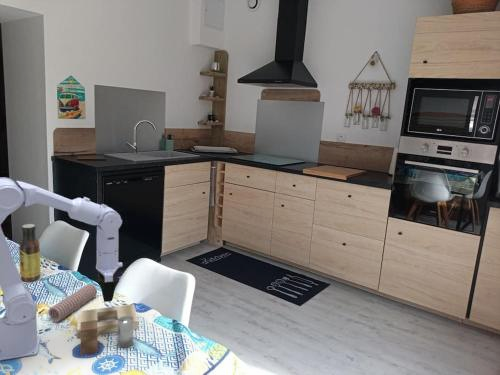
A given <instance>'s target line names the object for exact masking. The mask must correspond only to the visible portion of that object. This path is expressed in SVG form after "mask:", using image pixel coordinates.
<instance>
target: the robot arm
mask: <svg viewBox="0 0 500 375" xmlns="http://www.w3.org/2000/svg"><path fill="white" fill-rule="evenodd" d="M34 204H39V205H43V206H46V207H49V208H53V209H57V210H60V211H63V212H67V213H68V216H69V218H70V219H72V220H76V221H79V222H83V223H84V224H88V225H91V226H96V265H95V269H96V271H98V274H99V276H100V277H97V278H96V279H97V281H96V282H97V284H98V285H99V287H100V290H101V293H102V294H101V295H102V299H103V302H104V303H106V302H108V303H109V302H112V301H113V299H114V295H115V290H116V287H117V286H118V283H119V282H120V277H119V276H117V277H114V274H115V273H116V272H117V270H118V269H119V268H122V267H123V266H124V265H123V262H121V261H120V262H119V229H120V228H121V226H122V224H123V219H122V217H121V215H120V214H119V213H118V212H117V211H116V210H114V209H113V208H112V207H109V206H108V205H107V204H104V203H101V204H99V203H95V202H93V201H91V199H90V198H88V197H86V196H83V198H81V197H76V198H74V199H70V198H67V197H64V196H63V195H60V194H56V193H54V192H51V191H49V190H47V189H45V188H41V187H39V186H36V185H34V184H31V183H27V182H24V181H21V180H20V181H19V180H16V181H14V180H13V179H12V178H9V177H5V176H4V177H0V288H1V291H2V303H3V305H4V308H5V309H4V310H5V312H4V315H3V316H2V317H0V361H4V360H10V359H11V360H12V359H17V358H23V357H31V356H35V355H38V354H39V353H38V352H39V348H40V343H41V335H38V324H37V323H38V322H37V312H38V310H37V309H38V306H37V304H36V302H35V301H34V299H33V296H32V294H31V290H30V288H28V287H27V286H26V285H24V283H23V280H22V279H21V275H20V273H19V270H18V268H17V265H16V262H15V260H14V258H13V257H14V256H13V254H12V252H11V250H10V247H9V245H8V242H7V240H6V237H5V234H4V232H3V229H2V226H1V225H2V224H3V222H4V221H5V220H6V218H7V217H8V216H9V215H11V214H13V212H15V211H17V210H18V209H19V208H20V207H21V206H22V205H23V206H24V207H29V206H31V205H34Z"/></svg>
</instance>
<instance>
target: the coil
mask: <svg viewBox="0 0 500 375" xmlns="http://www.w3.org/2000/svg"><path fill="white" fill-rule="evenodd" d="M97 293H98V289H97V287H96V285H95V284H93V283H88V284H86V285H85V286H83V287H82V288H80V289H78V290H76V291H75V292H74V293H72V294H70V295H68V296H67V297H65V298H64V299H62V300H61V301H59V302H57V303H56V304H54V305H53V306H51V307H50V308H49V309H48V316H49V318H51V320H52V321H51V322H52V323H56V324H57V323H58V322H60V321H61V320H63V319H64V318H66V317H67V316H69V315H70V314H72V313H74V312H75V311H76V310H78V308H80V307H82V306H83V305H85V304H86V303H88V302H89V301H90V300H92V299H93V298H94V297H96V296H97Z"/></svg>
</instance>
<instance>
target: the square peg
mask: <svg viewBox="0 0 500 375" xmlns="http://www.w3.org/2000/svg"><path fill="white" fill-rule="evenodd" d="M98 336H99V335H98V328H97V320H93V321H86V322H81V327H80V338H79V339H80V356H85V355H91V354H92V355H93V354H98V352H99V351H98V348H99V346H98V345H99V344H98V341H99V339H98Z"/></svg>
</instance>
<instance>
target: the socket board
mask: <svg viewBox="0 0 500 375" xmlns="http://www.w3.org/2000/svg"><path fill="white" fill-rule="evenodd" d="M135 306H136V305H135V304H133V303H132V304H127V305H126V304H124V305H118V306H109V307H108V306H107V307H102V308H93V309H85V310H78V311H77V323H76V325H77V326H76V338H77V339H80V327H81V322H86V321H93V320H97V328H98V336H99V335H107V334H113V333H118V319H119V318H120V317H123V316H130V317H132V318H133V331H134V330H139V319H138V316H137V310H136V307H135ZM115 318H116V319H115ZM111 319H113V320H111ZM114 319H115V320H114ZM103 320H106V321H103ZM99 321H100V322H99Z"/></svg>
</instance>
